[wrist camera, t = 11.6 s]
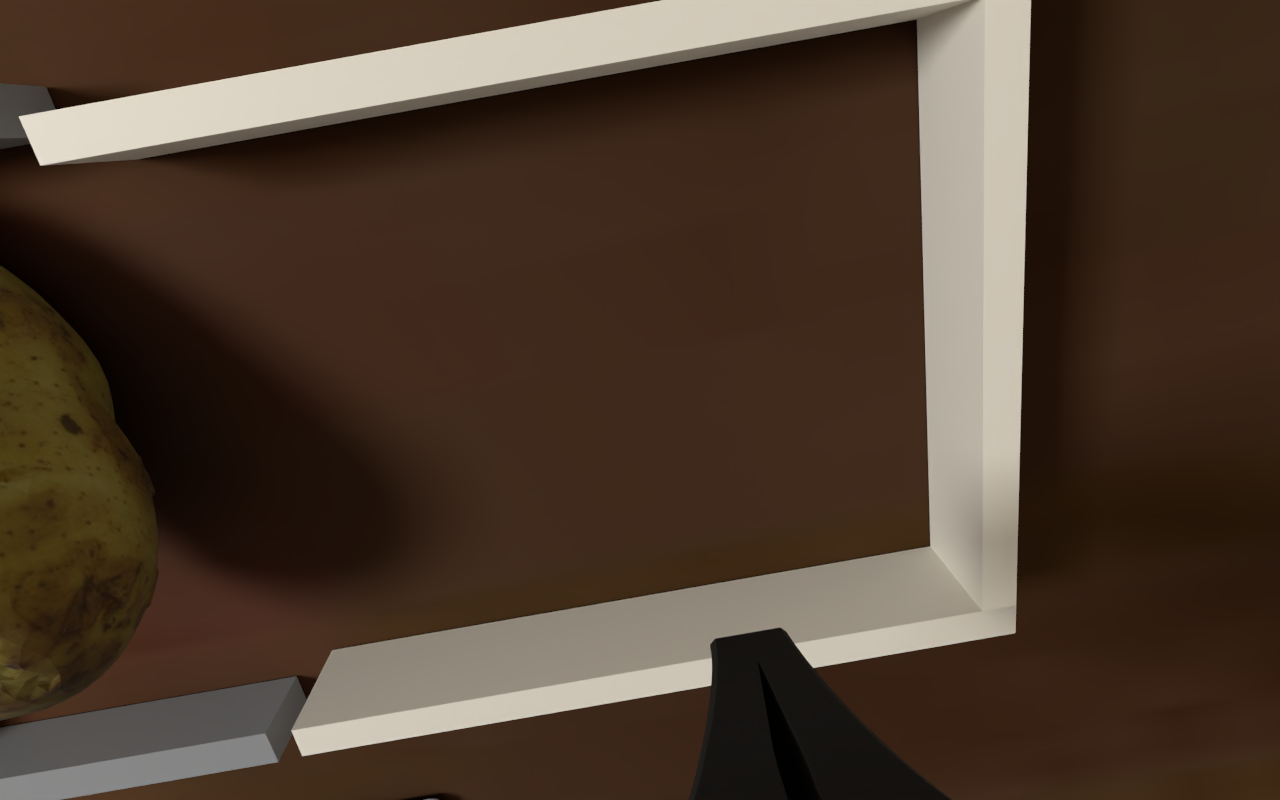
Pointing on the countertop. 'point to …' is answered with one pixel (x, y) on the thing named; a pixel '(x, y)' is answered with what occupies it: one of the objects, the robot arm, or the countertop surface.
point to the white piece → (692, 618)
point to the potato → (64, 512)
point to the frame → (146, 732)
